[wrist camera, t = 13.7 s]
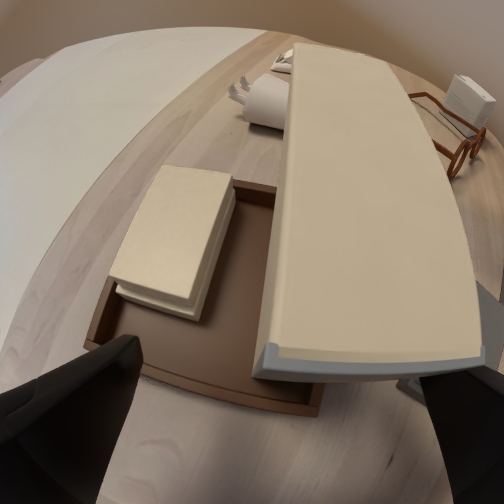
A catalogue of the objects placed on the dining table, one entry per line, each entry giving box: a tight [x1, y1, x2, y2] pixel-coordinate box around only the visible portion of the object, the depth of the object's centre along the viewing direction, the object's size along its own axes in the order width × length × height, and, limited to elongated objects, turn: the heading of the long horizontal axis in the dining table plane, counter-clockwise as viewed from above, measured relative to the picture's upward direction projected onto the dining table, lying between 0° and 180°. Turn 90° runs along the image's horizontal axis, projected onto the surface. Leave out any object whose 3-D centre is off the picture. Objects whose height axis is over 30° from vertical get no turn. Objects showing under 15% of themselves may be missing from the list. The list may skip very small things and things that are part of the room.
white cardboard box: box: [439, 75, 497, 137], centre depth 25 cm, size 6×6×7 cm
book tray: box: [83, 179, 325, 418], centre depth 16 cm, size 13×13×2 cm
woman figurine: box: [228, 73, 289, 130], centre depth 22 cm, size 12×4×18 cm
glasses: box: [408, 92, 486, 180], centre depth 23 cm, size 13×13×5 cm
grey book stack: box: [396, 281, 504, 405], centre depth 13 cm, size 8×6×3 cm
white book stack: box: [109, 165, 236, 322], centre depth 16 cm, size 8×5×3 cm, turn 167°
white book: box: [251, 42, 485, 383], centre depth 9 cm, size 7×3×13 cm, turn 172°
